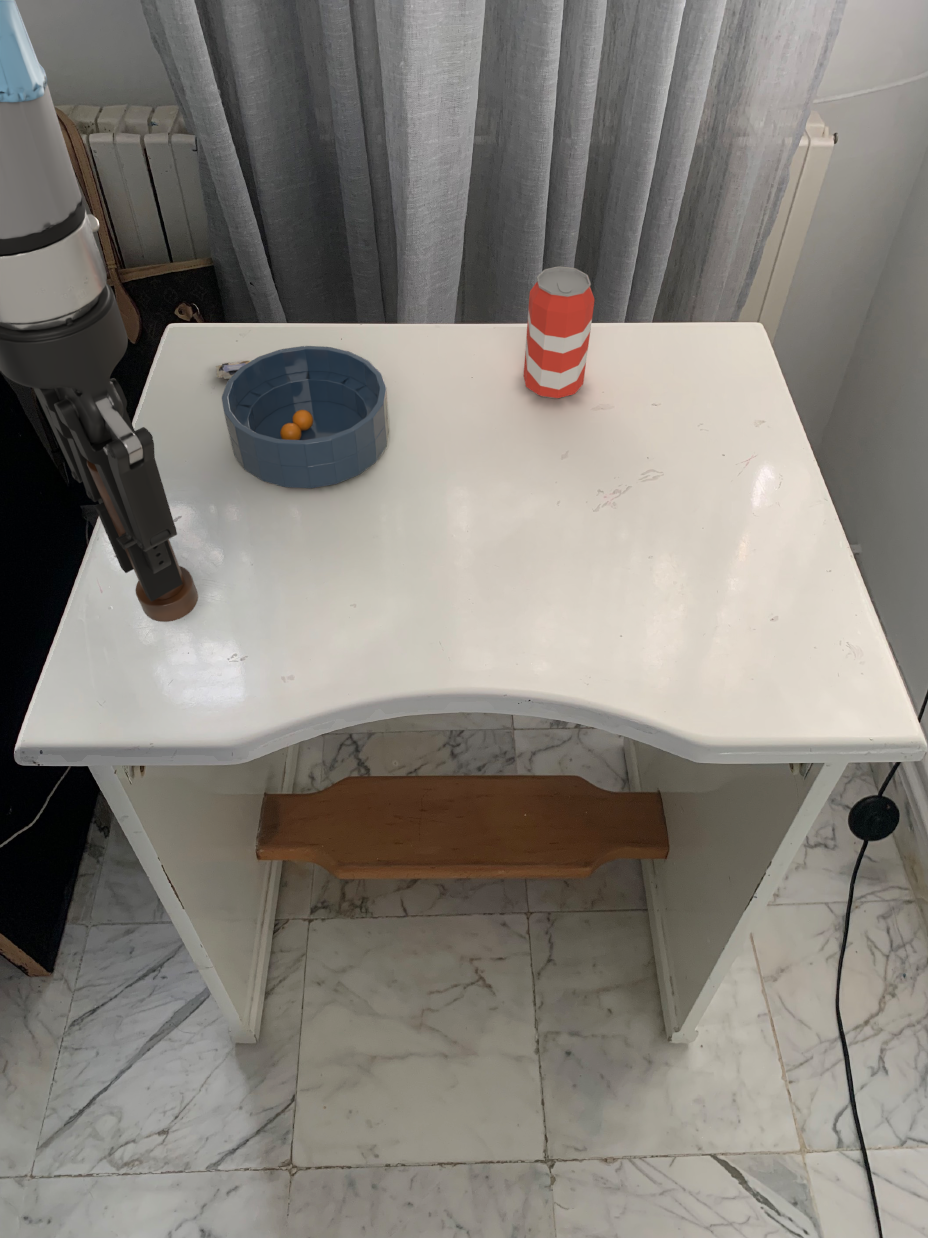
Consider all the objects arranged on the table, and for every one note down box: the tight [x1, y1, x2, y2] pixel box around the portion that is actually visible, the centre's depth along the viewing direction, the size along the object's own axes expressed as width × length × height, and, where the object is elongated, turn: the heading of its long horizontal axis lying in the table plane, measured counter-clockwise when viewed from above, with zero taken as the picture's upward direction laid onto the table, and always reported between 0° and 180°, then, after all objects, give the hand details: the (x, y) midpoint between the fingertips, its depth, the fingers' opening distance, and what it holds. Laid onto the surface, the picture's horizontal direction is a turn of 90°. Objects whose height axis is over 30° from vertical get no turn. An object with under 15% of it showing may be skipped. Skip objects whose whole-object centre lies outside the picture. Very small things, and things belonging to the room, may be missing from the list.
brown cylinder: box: [87, 460, 199, 623], centre depth 66 cm, size 4×4×15 cm
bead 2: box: [293, 410, 313, 431], centre depth 88 cm, size 2×2×2 cm
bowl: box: [221, 345, 390, 489], centre depth 86 cm, size 15×15×6 cm
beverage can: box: [523, 265, 595, 400], centre depth 90 cm, size 6×6×12 cm
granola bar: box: [215, 359, 253, 380], centre depth 95 cm, size 7×2×1 cm, turn 102°
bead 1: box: [280, 423, 301, 440], centre depth 86 cm, size 2×2×2 cm
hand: (151, 575), depth 68 cm, fingers closed on brown cylinder, 3 cm apart
